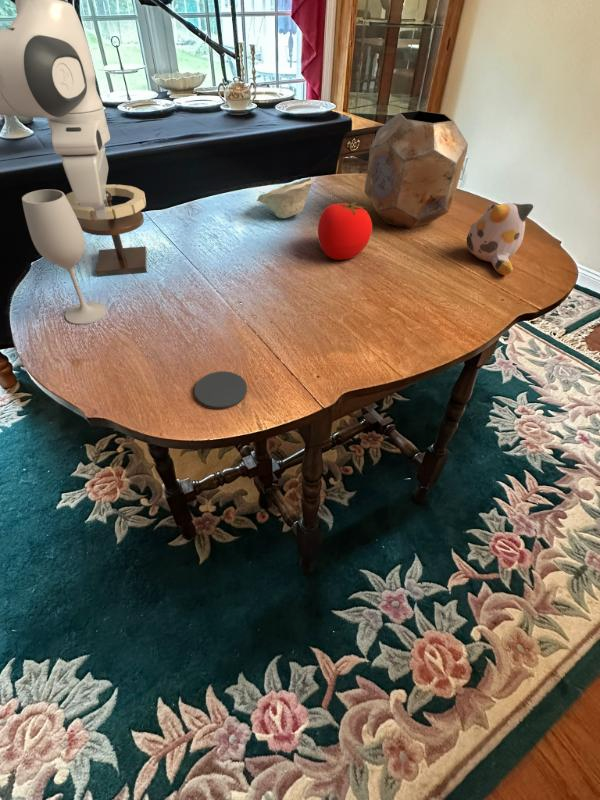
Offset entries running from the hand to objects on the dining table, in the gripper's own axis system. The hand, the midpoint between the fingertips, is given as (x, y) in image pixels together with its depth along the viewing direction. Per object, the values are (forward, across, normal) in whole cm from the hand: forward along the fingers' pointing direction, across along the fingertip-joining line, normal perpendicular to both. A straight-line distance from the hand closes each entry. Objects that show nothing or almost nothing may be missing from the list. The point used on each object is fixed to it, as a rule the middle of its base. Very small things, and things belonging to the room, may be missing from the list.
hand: (103, 213), depth 81 cm
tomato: (+13, -2, +49) cm, 51 cm away
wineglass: (+14, +12, -6) cm, 19 cm away
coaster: (+13, +38, +16) cm, 44 cm away
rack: (+13, -6, 0) cm, 15 cm away
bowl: (+13, -26, +41) cm, 51 cm away
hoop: (+1, -6, 0) cm, 7 cm away
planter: (+13, -19, +73) cm, 77 cm away
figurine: (+13, +9, +83) cm, 85 cm away
